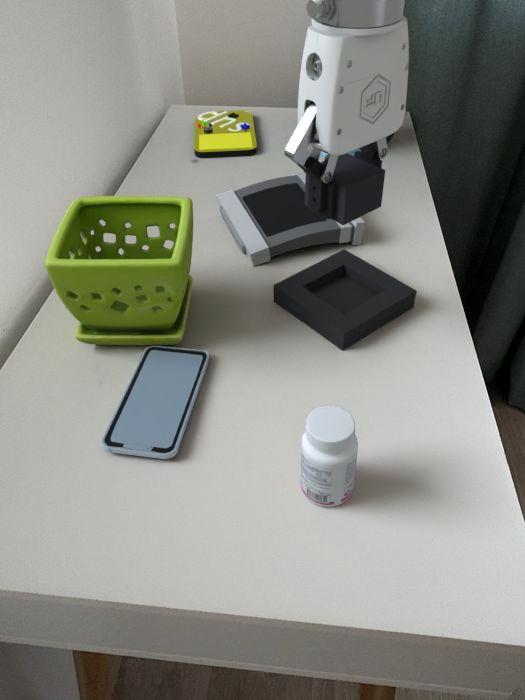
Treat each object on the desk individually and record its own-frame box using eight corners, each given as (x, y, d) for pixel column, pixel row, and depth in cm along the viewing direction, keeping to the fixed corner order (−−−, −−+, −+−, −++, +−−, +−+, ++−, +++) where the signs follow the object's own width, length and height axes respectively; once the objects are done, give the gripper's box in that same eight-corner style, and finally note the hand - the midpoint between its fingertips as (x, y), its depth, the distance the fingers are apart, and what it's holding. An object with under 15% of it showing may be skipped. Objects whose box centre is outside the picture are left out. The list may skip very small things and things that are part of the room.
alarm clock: (365, 222, 84) (248, 235, 79) (359, 252, 87) (247, 267, 82) (316, 168, 96) (213, 177, 92) (313, 196, 99) (213, 206, 95)
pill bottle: (338, 458, 59) (344, 395, 53) (362, 498, 55) (371, 435, 50) (291, 474, 57) (292, 411, 52) (313, 515, 54) (316, 453, 48)
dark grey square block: (342, 188, 67) (344, 152, 64) (381, 206, 64) (385, 169, 61) (304, 205, 64) (305, 168, 61) (343, 225, 61) (346, 187, 58)
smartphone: (211, 351, 69) (174, 456, 58) (211, 357, 70) (175, 462, 58) (146, 344, 70) (97, 446, 59) (147, 351, 71) (99, 453, 59)
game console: (259, 155, 108) (259, 146, 107) (194, 159, 107) (194, 150, 106) (251, 115, 121) (251, 107, 120) (193, 118, 121) (193, 110, 120)
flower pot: (68, 359, 70) (38, 263, 61) (94, 285, 80) (72, 194, 72) (194, 358, 69) (182, 261, 61) (204, 284, 80) (194, 193, 71)
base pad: (342, 265, 82) (344, 248, 81) (414, 307, 75) (417, 290, 74) (273, 301, 77) (272, 284, 75) (342, 351, 70) (344, 333, 68)
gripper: (313, 34, 45) (306, 249, 57) (459, -7, 53) (427, 189, 65) (248, 15, 50) (254, 218, 62) (392, -20, 58) (373, 165, 70)
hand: (343, 201), depth 63 cm, fingers closed on dark grey square block, 5 cm apart
